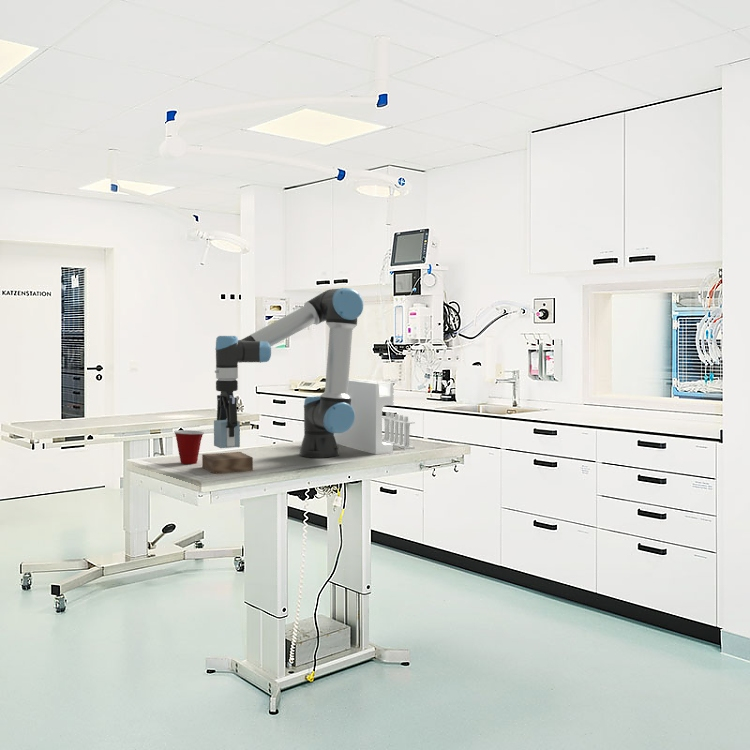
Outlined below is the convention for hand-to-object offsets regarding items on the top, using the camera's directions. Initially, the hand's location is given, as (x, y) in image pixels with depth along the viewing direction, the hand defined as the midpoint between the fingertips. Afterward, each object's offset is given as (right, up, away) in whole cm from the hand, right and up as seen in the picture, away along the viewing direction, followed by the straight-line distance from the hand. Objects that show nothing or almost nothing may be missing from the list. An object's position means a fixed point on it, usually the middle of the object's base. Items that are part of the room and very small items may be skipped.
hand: (226, 444), depth 284 cm
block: (+47, -6, +51) cm, 70 cm away
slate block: (0, -1, 0) cm, 1 cm away
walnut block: (0, -9, +1) cm, 9 cm away
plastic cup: (-16, -8, +12) cm, 22 cm away
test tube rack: (+61, -6, +60) cm, 86 cm away
